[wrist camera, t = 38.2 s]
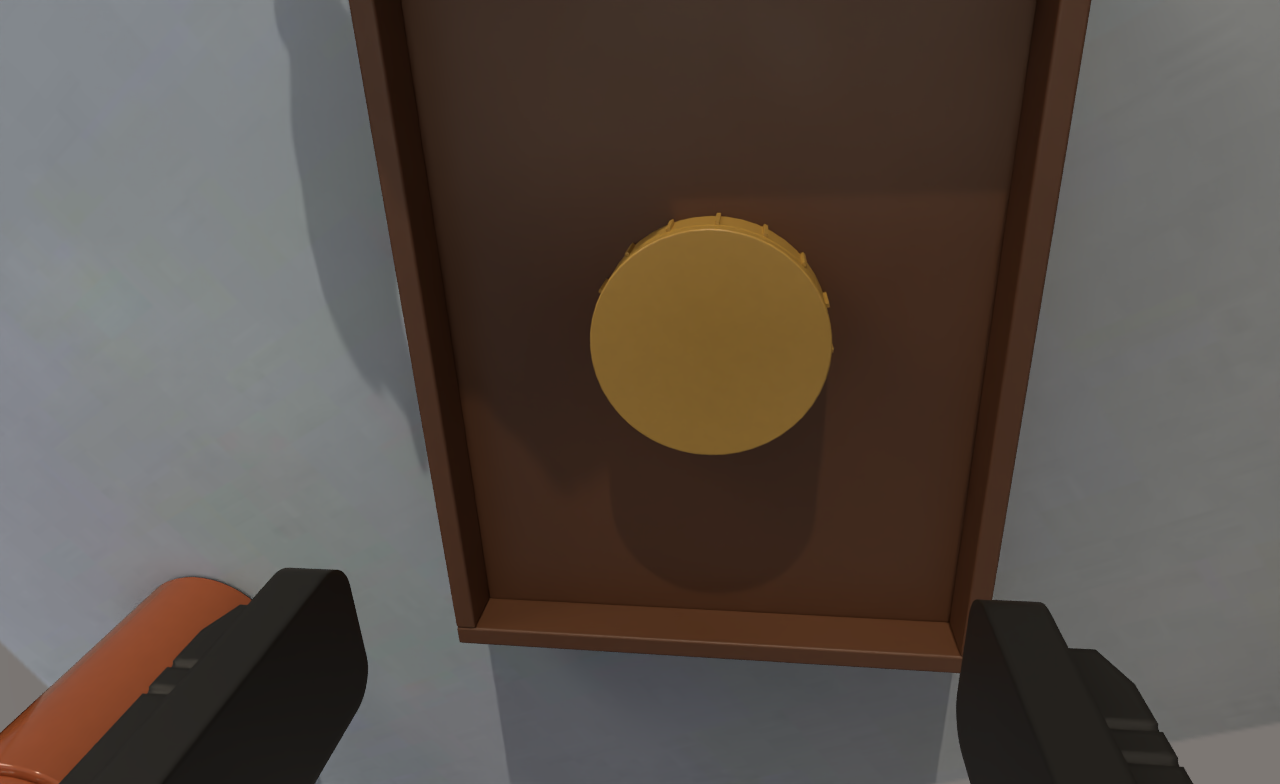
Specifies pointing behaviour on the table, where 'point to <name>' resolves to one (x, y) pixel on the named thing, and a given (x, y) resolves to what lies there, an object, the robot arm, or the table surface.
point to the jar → (109, 680)
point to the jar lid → (712, 336)
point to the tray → (758, 193)
